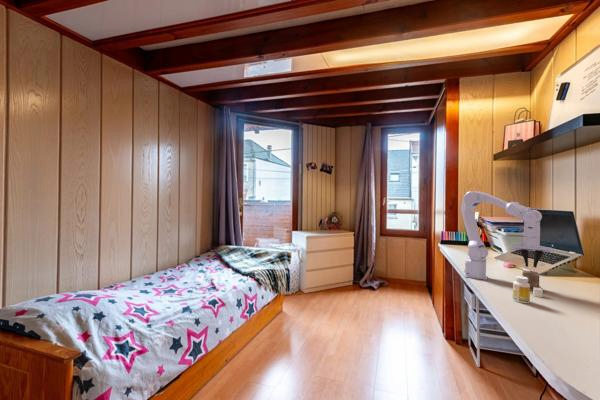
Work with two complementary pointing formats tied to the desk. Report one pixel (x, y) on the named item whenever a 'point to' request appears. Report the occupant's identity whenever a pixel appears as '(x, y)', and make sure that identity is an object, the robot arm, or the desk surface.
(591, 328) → the desk surface
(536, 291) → the off-white cube
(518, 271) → the desk surface
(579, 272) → the desk surface
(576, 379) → the desk surface
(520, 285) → the supplement bottle
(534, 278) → the brown rectangular block
